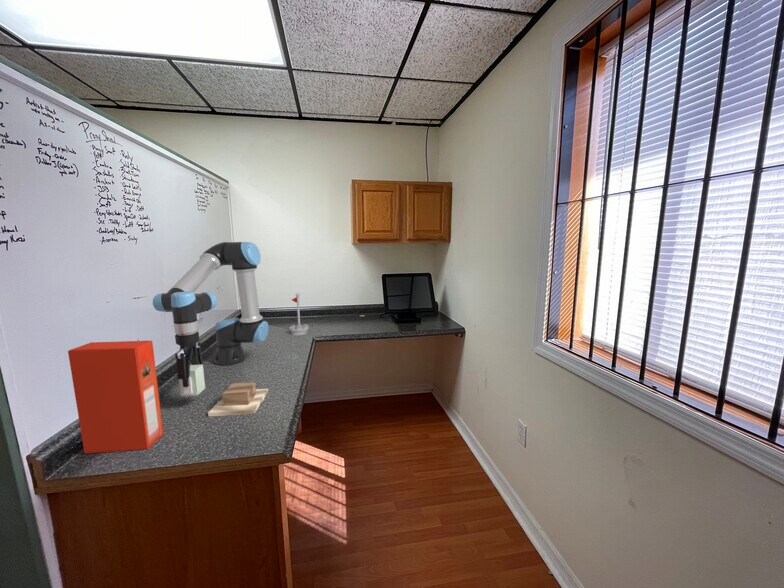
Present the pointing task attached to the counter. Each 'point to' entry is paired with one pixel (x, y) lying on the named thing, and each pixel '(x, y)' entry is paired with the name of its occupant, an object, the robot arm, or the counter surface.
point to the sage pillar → (194, 380)
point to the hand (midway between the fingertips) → (193, 389)
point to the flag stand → (298, 329)
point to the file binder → (116, 395)
